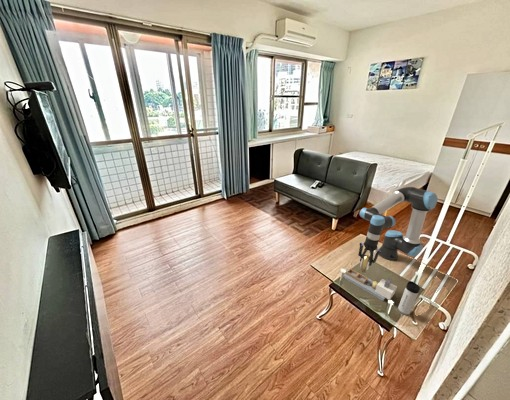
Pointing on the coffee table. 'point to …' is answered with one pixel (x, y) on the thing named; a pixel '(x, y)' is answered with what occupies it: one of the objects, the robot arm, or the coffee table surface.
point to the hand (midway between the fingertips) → (364, 267)
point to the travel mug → (408, 298)
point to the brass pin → (365, 263)
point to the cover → (386, 288)
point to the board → (362, 282)
